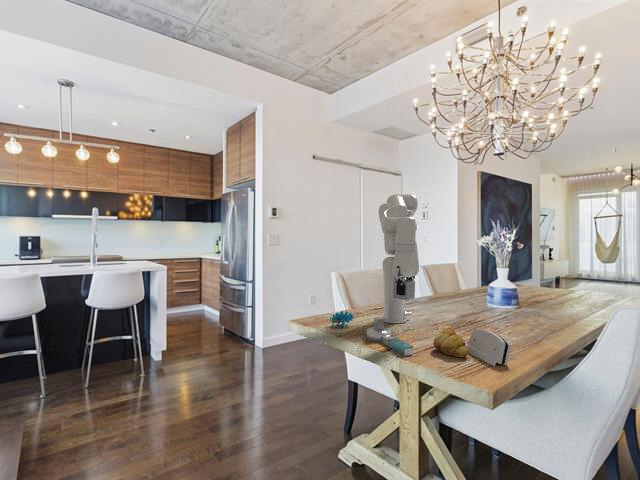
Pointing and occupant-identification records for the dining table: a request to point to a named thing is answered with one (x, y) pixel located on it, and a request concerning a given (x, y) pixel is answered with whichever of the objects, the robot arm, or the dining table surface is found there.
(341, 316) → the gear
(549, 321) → the dining table surface
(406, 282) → the socket
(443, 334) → the bread roll
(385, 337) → the ratchet
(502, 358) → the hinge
